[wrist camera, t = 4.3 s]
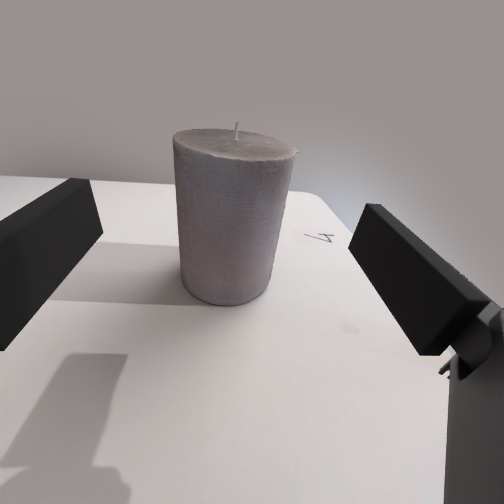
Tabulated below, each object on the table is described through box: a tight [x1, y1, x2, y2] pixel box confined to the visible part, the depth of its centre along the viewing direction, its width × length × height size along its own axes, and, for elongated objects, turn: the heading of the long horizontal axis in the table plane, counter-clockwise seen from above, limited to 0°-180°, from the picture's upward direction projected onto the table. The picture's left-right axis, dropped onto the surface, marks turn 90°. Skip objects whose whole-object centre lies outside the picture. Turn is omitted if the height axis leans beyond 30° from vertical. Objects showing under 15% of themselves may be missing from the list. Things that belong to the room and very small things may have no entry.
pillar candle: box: [173, 122, 298, 306], centre depth 23 cm, size 10×10×15 cm
